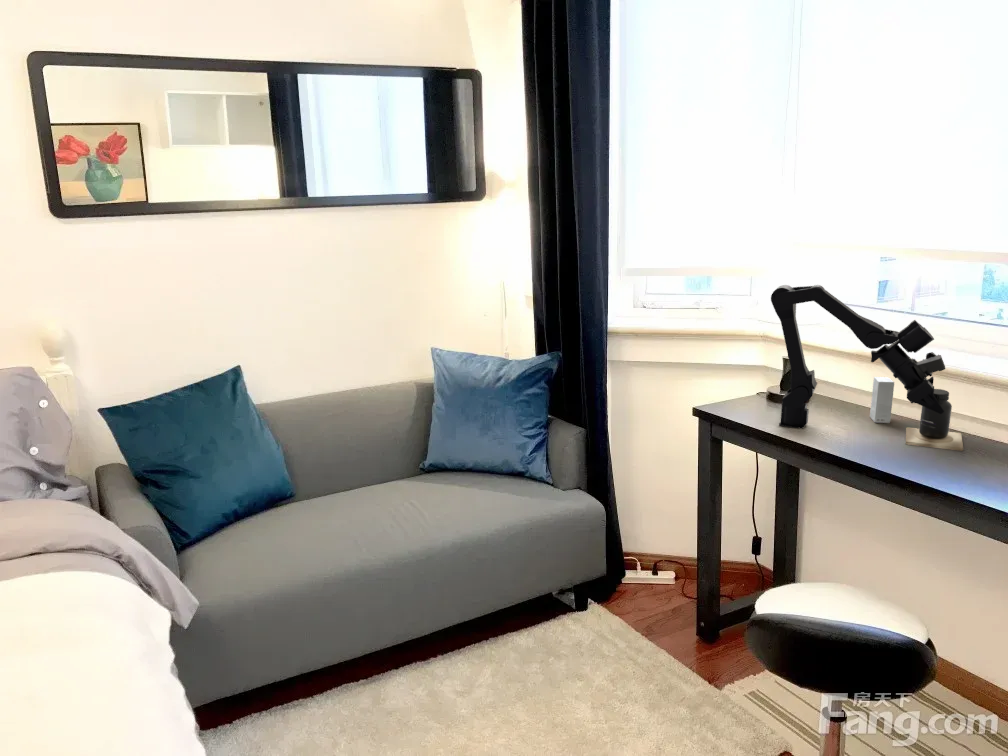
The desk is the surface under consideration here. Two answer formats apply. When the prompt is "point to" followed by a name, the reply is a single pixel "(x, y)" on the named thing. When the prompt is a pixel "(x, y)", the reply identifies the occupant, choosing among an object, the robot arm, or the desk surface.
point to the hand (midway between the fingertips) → (942, 409)
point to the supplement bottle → (936, 417)
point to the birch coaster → (934, 440)
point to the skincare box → (882, 399)
